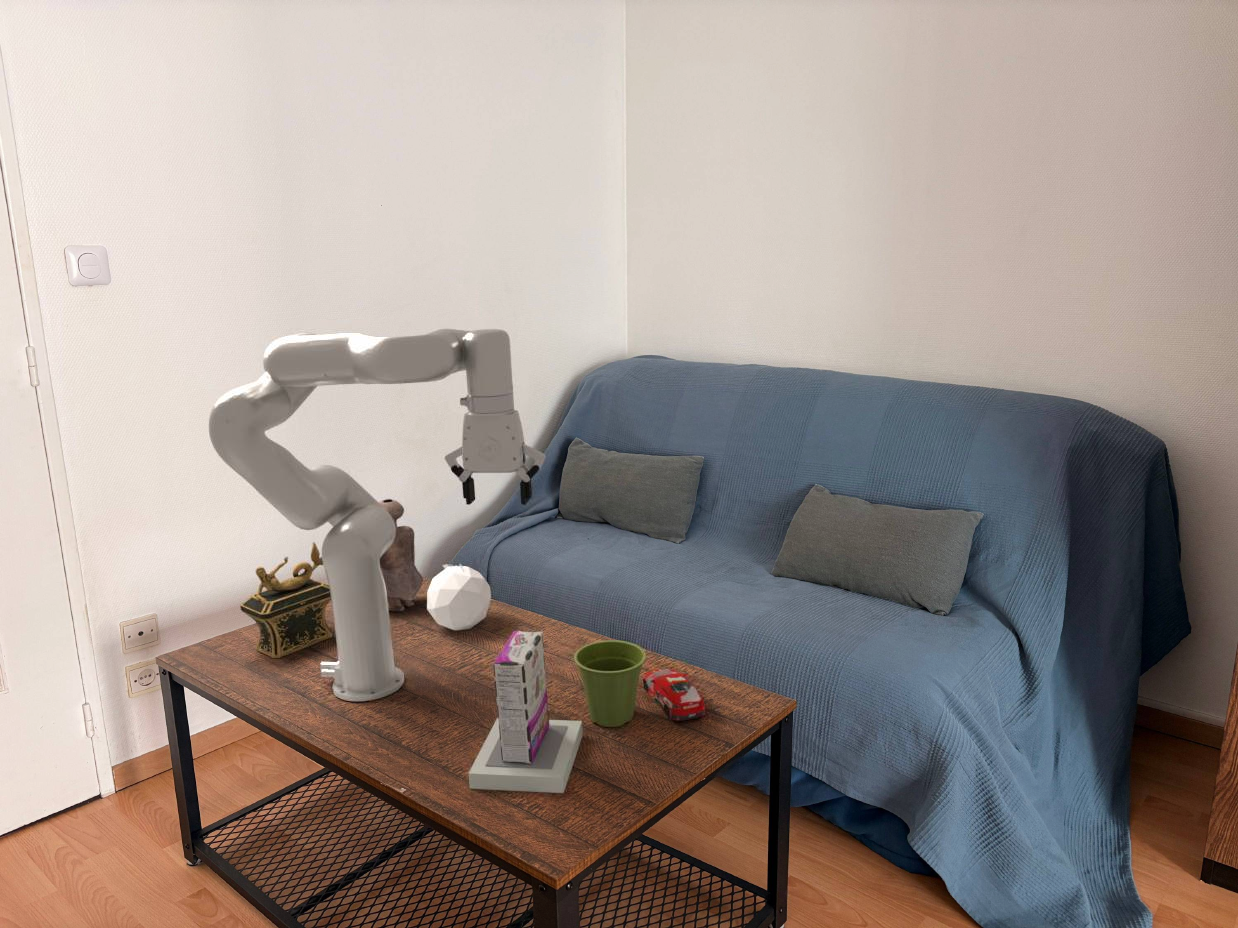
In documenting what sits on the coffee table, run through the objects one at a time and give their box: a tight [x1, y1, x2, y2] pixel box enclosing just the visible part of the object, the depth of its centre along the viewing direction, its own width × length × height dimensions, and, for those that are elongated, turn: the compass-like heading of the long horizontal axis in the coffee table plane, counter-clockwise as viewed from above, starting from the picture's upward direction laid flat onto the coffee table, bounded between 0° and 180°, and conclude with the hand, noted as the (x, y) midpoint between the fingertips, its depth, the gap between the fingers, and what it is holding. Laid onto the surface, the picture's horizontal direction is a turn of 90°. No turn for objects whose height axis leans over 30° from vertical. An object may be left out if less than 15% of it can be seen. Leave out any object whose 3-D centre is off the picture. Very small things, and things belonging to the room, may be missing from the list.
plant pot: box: [573, 639, 647, 728], centre depth 151 cm, size 12×12×11 cm
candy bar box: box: [492, 630, 550, 764], centre depth 138 cm, size 11×5×16 cm, turn 170°
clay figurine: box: [378, 498, 424, 613], centre depth 199 cm, size 13×10×25 cm
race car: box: [642, 667, 706, 722], centre depth 157 cm, size 16×7×5 cm, turn 18°
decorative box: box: [239, 541, 334, 659], centre depth 185 cm, size 20×10×20 cm, turn 140°
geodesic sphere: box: [426, 563, 492, 631], centre depth 190 cm, size 14×14×14 cm
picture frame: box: [468, 717, 584, 794], centre depth 140 cm, size 14×16×3 cm
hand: (498, 502), depth 156 cm, fingers open, 9 cm apart
